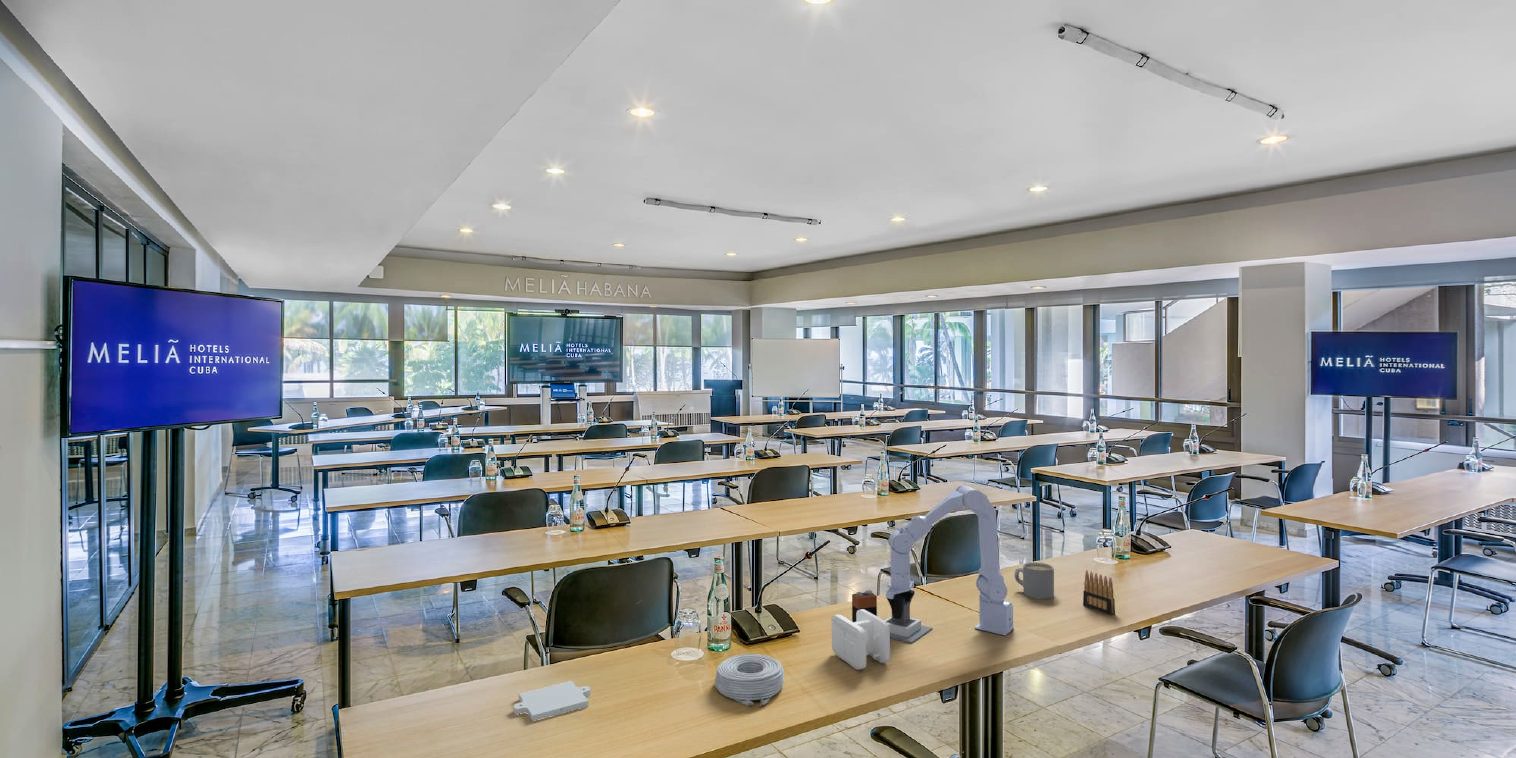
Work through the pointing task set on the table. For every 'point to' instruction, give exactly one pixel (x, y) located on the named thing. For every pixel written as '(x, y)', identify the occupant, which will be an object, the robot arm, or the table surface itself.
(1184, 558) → the table surface
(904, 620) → the block
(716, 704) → the table surface
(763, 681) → the cable
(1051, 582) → the coffee mug
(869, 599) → the battery
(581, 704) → the mounting plate
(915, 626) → the end holder
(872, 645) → the cable organizer
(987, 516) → the robot arm
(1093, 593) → the ammunition clip
